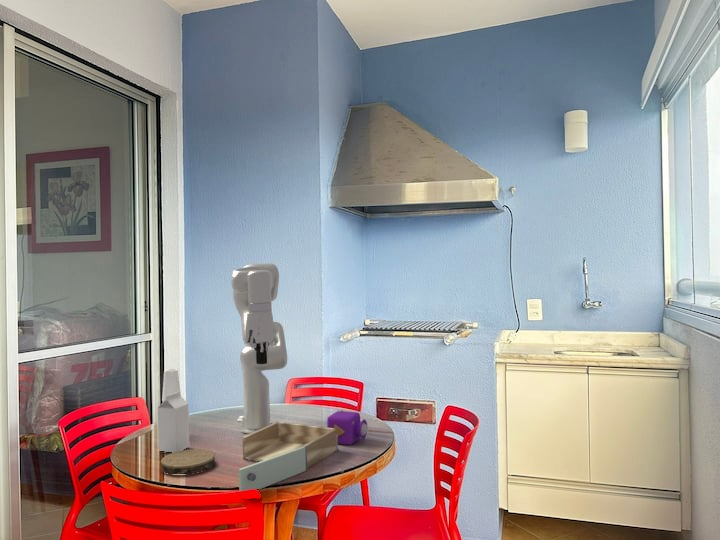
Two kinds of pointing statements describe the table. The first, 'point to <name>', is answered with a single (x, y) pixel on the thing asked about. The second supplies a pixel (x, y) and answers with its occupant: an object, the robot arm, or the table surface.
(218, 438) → the table surface
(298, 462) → the door
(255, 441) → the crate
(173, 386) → the grey tall block
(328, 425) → the toy camera
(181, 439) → the milk carton
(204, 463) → the brown round disc
